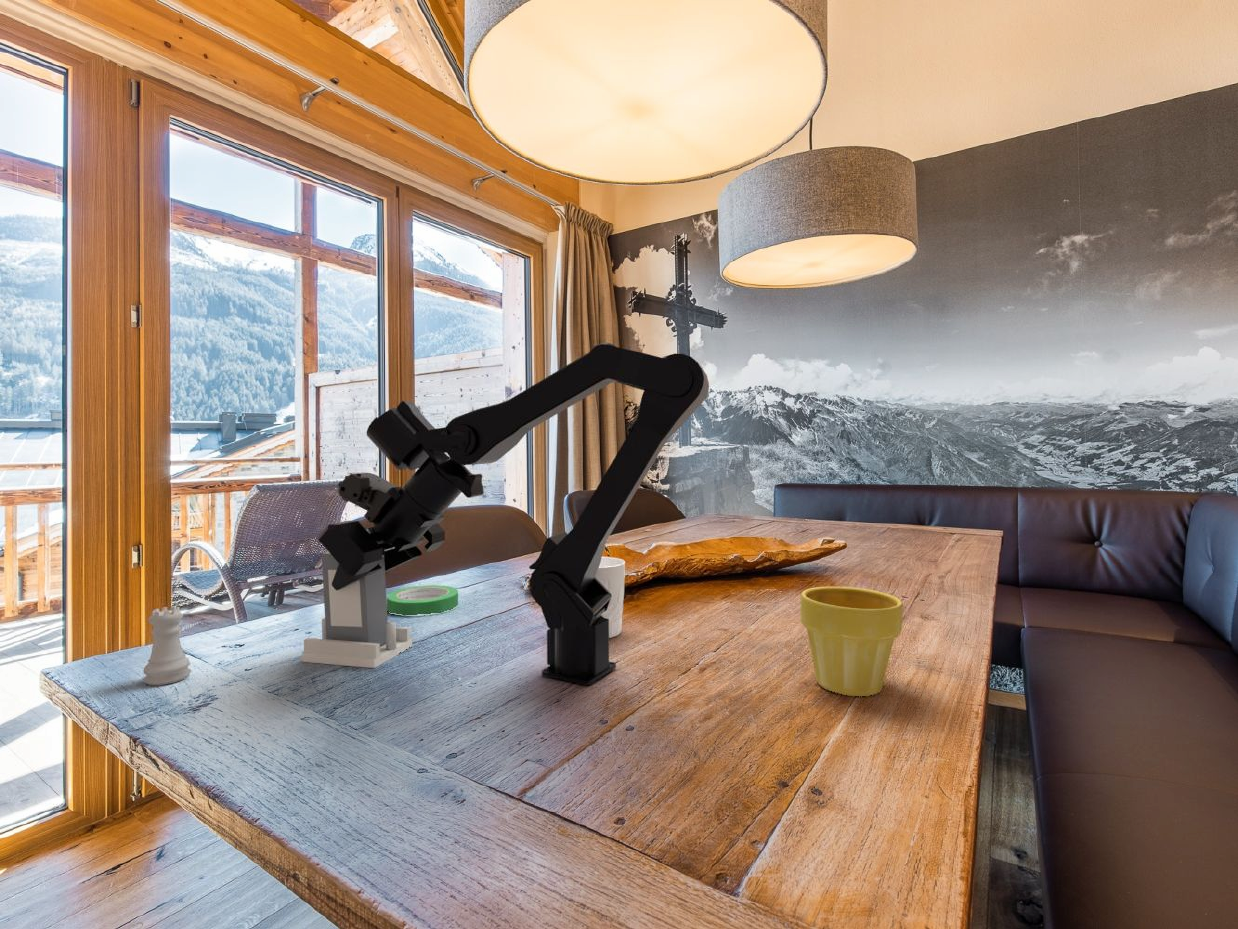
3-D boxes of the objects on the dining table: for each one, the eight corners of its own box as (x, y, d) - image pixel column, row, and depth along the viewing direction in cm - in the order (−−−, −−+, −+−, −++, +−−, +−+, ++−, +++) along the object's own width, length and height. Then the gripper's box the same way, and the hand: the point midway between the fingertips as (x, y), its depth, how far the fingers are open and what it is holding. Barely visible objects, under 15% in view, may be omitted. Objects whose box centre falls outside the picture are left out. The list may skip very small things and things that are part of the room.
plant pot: (897, 674, 70) (898, 589, 70) (906, 711, 60) (907, 612, 60) (802, 663, 73) (803, 582, 73) (797, 696, 64) (797, 603, 63)
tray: (413, 646, 80) (412, 614, 80) (376, 668, 72) (375, 633, 72) (344, 641, 82) (343, 610, 82) (300, 661, 75) (300, 627, 75)
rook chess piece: (201, 674, 71) (199, 605, 71) (163, 688, 66) (160, 616, 66) (171, 670, 72) (169, 603, 72) (132, 684, 68) (130, 613, 67)
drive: (388, 640, 79) (383, 548, 78) (368, 651, 75) (363, 553, 74) (348, 639, 80) (343, 548, 80) (326, 649, 76) (321, 553, 76)
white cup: (595, 621, 91) (594, 554, 91) (636, 631, 86) (636, 560, 86) (557, 633, 85) (557, 562, 85) (600, 645, 80) (599, 569, 80)
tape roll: (419, 622, 92) (418, 605, 92) (372, 612, 98) (372, 595, 98) (472, 606, 102) (472, 590, 101) (426, 597, 107) (426, 582, 107)
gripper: (423, 449, 85) (355, 527, 88) (331, 451, 67) (249, 549, 69) (476, 507, 83) (405, 584, 86) (397, 524, 65) (310, 621, 68)
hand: (348, 582), depth 77 cm, fingers open, 5 cm apart
